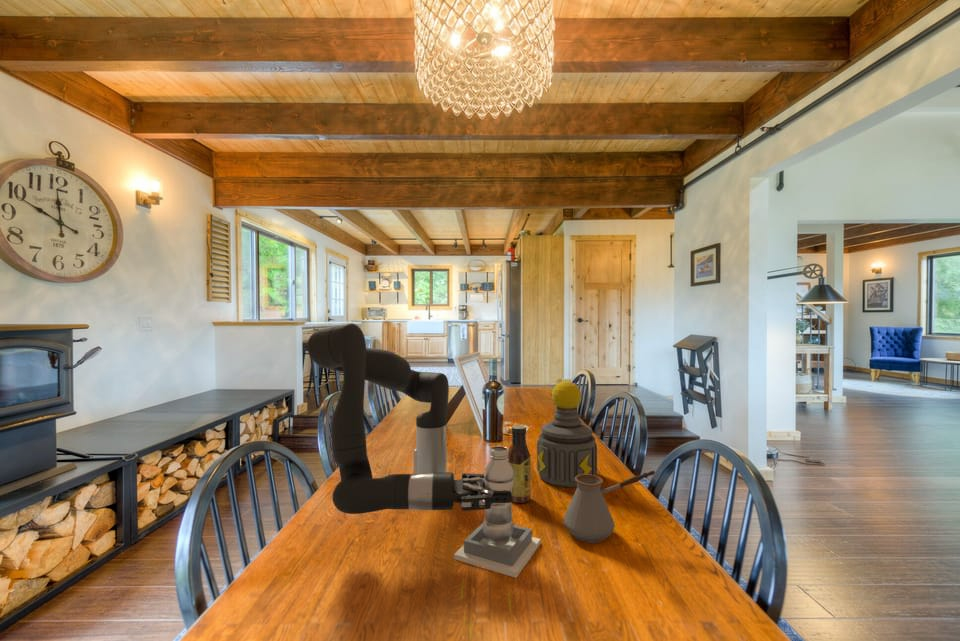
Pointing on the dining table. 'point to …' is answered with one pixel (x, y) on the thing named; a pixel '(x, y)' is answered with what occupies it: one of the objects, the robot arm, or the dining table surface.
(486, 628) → the dining table surface
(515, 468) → the sauce bottle
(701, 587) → the dining table surface
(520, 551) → the bottle holder
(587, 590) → the dining table surface
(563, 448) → the decorative lamp
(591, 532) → the coffee pot
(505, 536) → the plastic bottle
